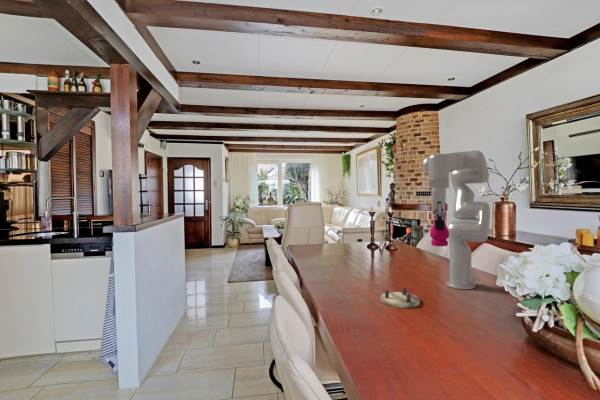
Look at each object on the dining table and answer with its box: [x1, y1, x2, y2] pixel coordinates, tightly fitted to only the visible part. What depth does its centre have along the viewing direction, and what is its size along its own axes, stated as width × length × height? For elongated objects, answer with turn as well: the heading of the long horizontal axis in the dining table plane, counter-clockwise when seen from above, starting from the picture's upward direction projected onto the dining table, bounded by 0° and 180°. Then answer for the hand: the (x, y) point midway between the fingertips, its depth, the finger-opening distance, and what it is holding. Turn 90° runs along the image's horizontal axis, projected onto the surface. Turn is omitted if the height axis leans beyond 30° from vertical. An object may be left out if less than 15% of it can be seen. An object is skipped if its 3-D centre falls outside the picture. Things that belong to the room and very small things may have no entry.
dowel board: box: [379, 286, 421, 309], centre depth 135 cm, size 16×16×4 cm
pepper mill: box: [429, 202, 449, 247], centre depth 130 cm, size 7×7×20 cm
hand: (439, 228), depth 130 cm, fingers closed on pepper mill, 5 cm apart
